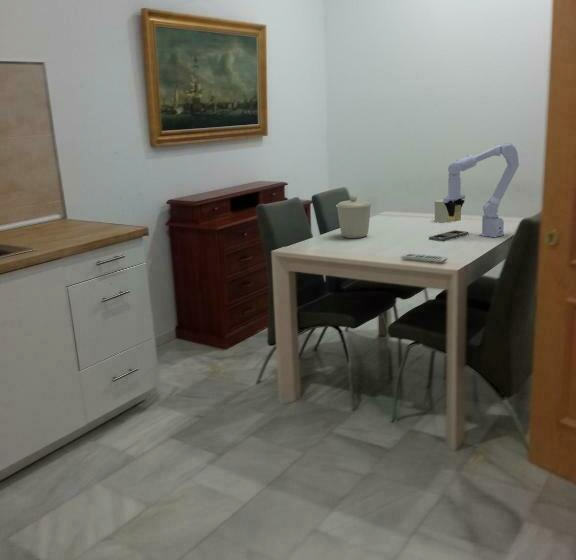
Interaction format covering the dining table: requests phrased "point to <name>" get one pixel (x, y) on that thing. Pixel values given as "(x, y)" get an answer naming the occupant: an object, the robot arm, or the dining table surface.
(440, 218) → the can
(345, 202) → the canister
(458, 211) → the block
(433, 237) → the grey frame plate
